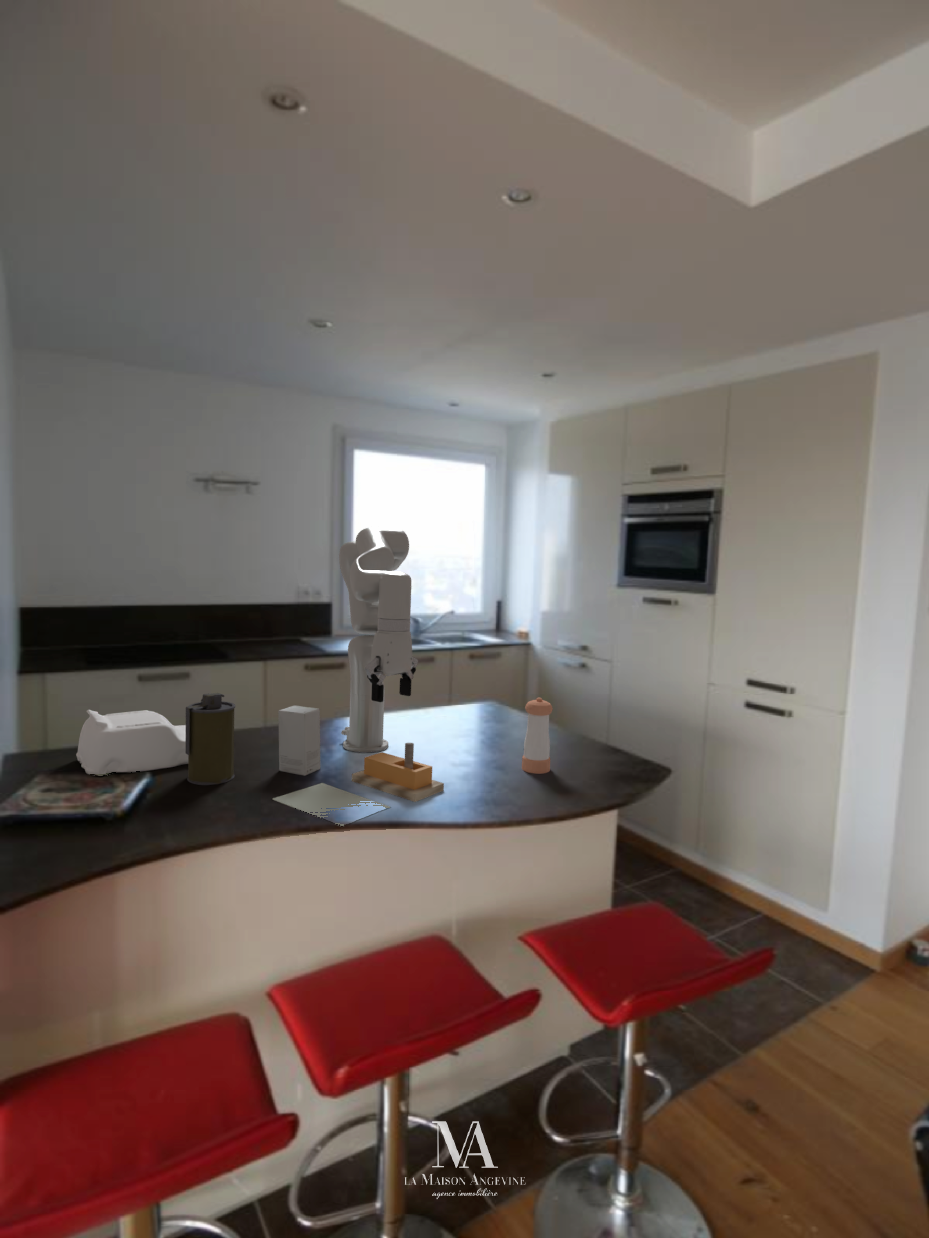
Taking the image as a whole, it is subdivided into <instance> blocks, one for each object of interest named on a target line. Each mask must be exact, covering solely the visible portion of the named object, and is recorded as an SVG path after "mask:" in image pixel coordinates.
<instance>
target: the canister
mask: <svg viewBox="0 0 929 1238" xmlns="http://www.w3.org/2000/svg"><path fill="white" fill-rule="evenodd" d="M224 697H225V695H224V694H222V693H219V692H215V693H204V694H202V698H201V700H200V701H199V702H194V703H191V704H189V705H188V706H186V707H185V725H186V754H187V755H188V764H187V765H188V767H187V769H188V770H187V773H188V776H187V777H186V778H187V779H186V780H187V782H189V783H191V784H193V785H197V786H198V785H199V786H210V785H211V786H213V785H214V786H215V785H220V784H225V783H227V782H230V781H232V780H233V779H234V778H235V772H234V771H235V770H234V769H235V768H234V767H235V708H236V704H234V703H233V702H230V701H224V700H223V699H222V698H224Z"/></svg>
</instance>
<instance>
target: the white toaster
mask: <svg viewBox="0 0 929 1238" xmlns="http://www.w3.org/2000/svg"><path fill="white" fill-rule="evenodd" d="M85 712H86V713H87V714H88V715H89V716H88V718H86V720H85V721H84V722H83V725H82V728H81V730H80V735H79V739H78V747H77V752H76V754H75V755H76V758H77V761H78V762H79V764H81V768H82V769H84V771H85V773H86V774H87V775H90V774H106V773H111V772H116V773H131V772H132V773H137V772H136V771H140V772H147V771H148V772H149V771H154V770H162V769H167V768H168V769H169V768H173V767H177V766H181V765H188V755H187V754H186V724H183V725H182V724H180V725H173V724H172V722H171V721H169V719H168V718H166V717H165V716H164V715H162V714H160V713H158V712H155V711H153V710H147V709H145V710H133V711H126V712H124V711H123V712H114V713H106V714H105V715H102V714H100V713H99V712H98V711H96V710H95V711H94V710H91V709H87V710H85Z"/></svg>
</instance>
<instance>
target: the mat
mask: <svg viewBox="0 0 929 1238" xmlns="http://www.w3.org/2000/svg"><path fill="white" fill-rule="evenodd" d="M272 800H273V801H275V802H278V803H280V804H282V805H285V806H288V807H290V808H292V809H295V808H296V810H297V811H300V810H301V812H303V811H304V812H303V813H305V812H307V813H306V814H308V813H309V814H308V815H310V814H312V815H311V816H313V815H317V817H316V818H318V817H320V818H319V819H321V817H323V818H324V817H328V816H320V815H321V814H322V815H326V814H328V813H320V812H326V811H330V810H331V811H332V810H334V811H335V810H339V809H326V808H341V807H353V806H358V807H359V806H361V805H357V804H359V803H365V804H366V803H370V802H360V801H371V800H372V799H369V798H366V797H363V796H361V795H358V794H355V793H352V792H349V791H346V790H343V789H340V788H337V787H334V786H332V785H329V784H326V783H324V782H321V783H317V784H314V785H312V786H308V787H305V788H302V789H298V790H295V791H292V792H289V793H286V794H284V795H280V796H276V797H273V798H272ZM372 801H374V800H372ZM371 803H375V804H376V803H377V804H381V805H373V806H383V807H385V808H389V809H391V808H390V807H391V806H389V805H387V804H383V803H380V802H378V801H375V802H371ZM348 804H349V805H348ZM351 804H356V805H351ZM382 804H383V805H382ZM366 806H368V805H366ZM321 808H322V809H321ZM340 810H345V809H340ZM310 812H313V813H310ZM315 812H318V813H315ZM329 814H330V813H329ZM336 824H338V825H337V826H339V824H340V823H335V824H334V825H336ZM341 826H343V827H345V826H344V824H340V826H339V827H341Z"/></svg>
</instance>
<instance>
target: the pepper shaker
mask: <svg viewBox="0 0 929 1238" xmlns="http://www.w3.org/2000/svg"><path fill="white" fill-rule="evenodd" d="M524 709H525V711H526V713H527V723H526V725H527V727H526V732H525V738H524V742H523V755H522V758H521V770H522V771H524V772H526V773H529V774H537V775H538V774H547V773H549V772H550V770H551V757H550V751H551V748H550V747H551V741H550V731H549V729H550V728H549V726H550V715H552V712H553V710H554V708H553V705H552V704H551V703H550V702H549V701H547V700H544V699H543V698H542V697H536V699H531V700H530V701H527V703H526V704H525V707H524Z"/></svg>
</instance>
